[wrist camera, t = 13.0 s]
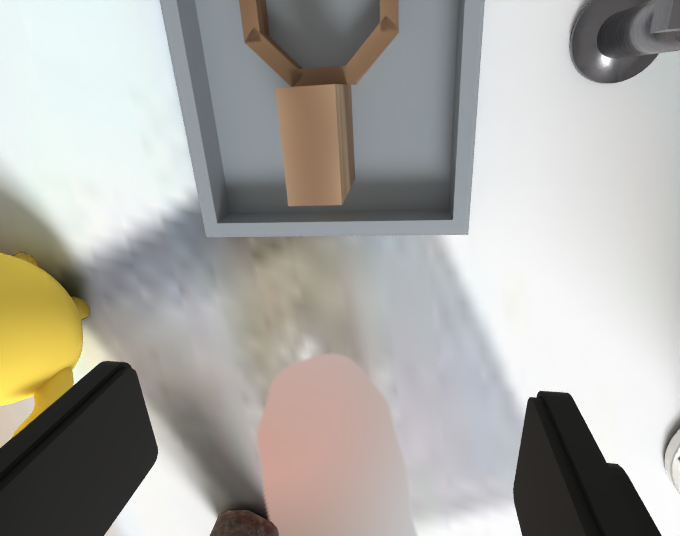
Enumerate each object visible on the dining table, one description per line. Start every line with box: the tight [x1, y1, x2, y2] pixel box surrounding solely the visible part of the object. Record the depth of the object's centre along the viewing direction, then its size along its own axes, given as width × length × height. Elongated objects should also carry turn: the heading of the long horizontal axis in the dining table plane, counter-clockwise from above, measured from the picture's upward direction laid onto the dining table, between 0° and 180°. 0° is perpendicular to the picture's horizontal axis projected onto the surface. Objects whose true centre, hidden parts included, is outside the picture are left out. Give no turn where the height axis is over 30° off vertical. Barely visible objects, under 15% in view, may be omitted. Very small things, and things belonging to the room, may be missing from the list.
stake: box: [570, 0, 680, 83], centre depth 19 cm, size 5×5×10 cm
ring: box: [239, 0, 399, 206], centre depth 23 cm, size 9×15×7 cm, turn 4°
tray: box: [160, 0, 485, 237], centre depth 25 cm, size 18×22×3 cm
